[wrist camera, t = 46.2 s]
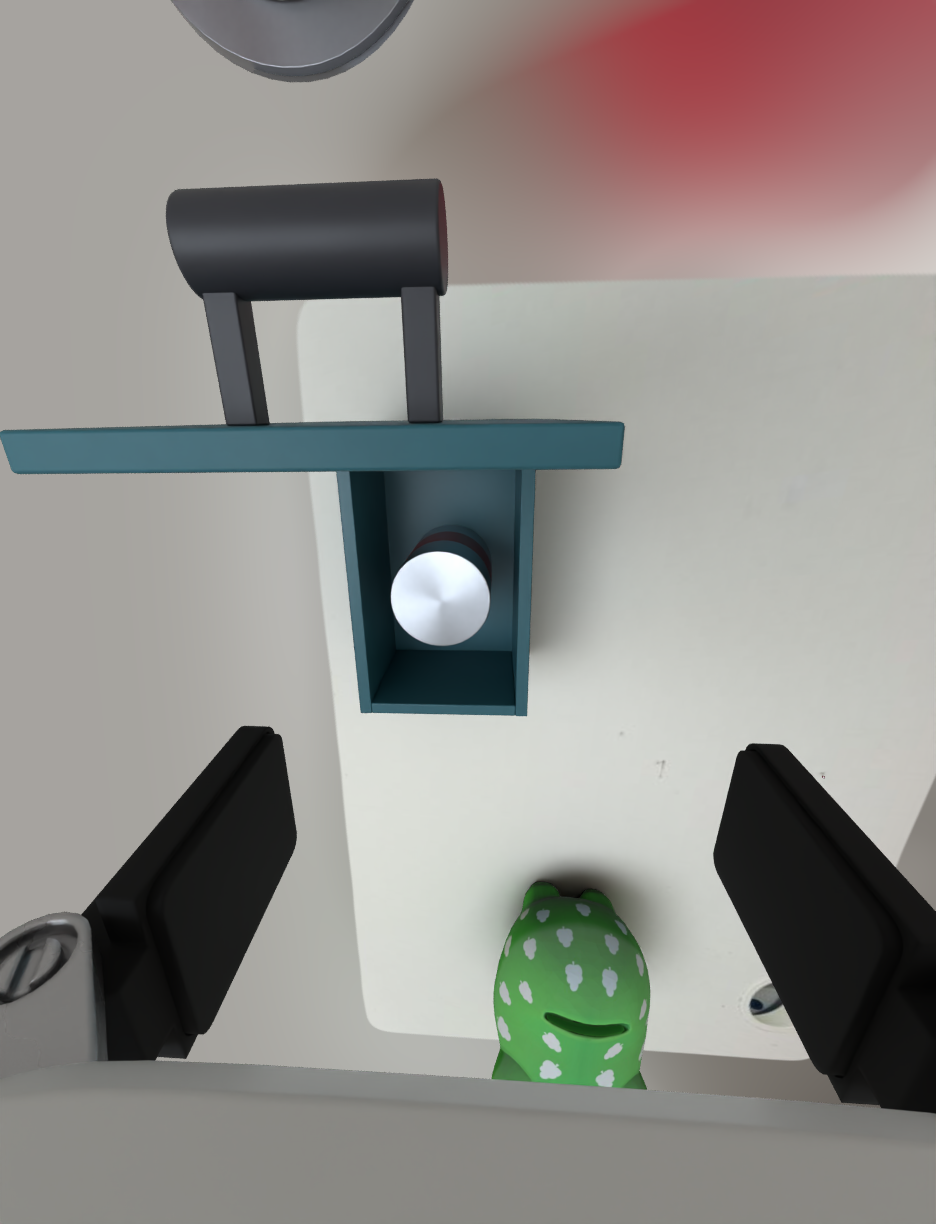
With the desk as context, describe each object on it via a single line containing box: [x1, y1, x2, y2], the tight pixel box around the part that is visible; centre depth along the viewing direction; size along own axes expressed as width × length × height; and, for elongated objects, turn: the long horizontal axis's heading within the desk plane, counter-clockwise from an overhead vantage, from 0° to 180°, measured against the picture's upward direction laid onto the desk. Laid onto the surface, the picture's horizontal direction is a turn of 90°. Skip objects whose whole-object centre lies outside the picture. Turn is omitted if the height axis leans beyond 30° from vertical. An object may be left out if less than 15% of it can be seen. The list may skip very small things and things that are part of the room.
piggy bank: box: [492, 882, 650, 1090], centre depth 46 cm, size 14×18×15 cm
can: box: [390, 525, 492, 646], centre depth 35 cm, size 6×6×9 cm
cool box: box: [336, 470, 536, 716], centre depth 35 cm, size 19×12×10 cm, turn 1°
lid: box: [0, 179, 625, 474], centre depth 17 cm, size 19×12×5 cm
